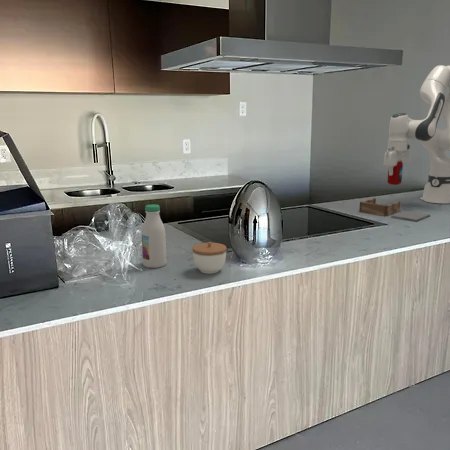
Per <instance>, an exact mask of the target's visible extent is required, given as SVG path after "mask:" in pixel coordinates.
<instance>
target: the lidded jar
mask: <svg viewBox="0 0 450 450" xmlns="http://www.w3.org/2000/svg"><path fill="white" fill-rule="evenodd" d="M191 250H192V258H193V262H194V265H195V267H196V268H197V269H198V270H199V271H200V272H201V273H203V274H205V275H207V274H209V275H210V274H217V273H218V272H220V270H222V268H223V267H224V266H225V263H226V260H227V259H226V258H227V246H226V245H225V244H224V243H223V244H222V243H219V242H211V241H207V242H201V243H197V244H195V245H193V246H192V249H191Z"/></svg>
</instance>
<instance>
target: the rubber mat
mask: <svg viewBox="0 0 450 450" xmlns="http://www.w3.org/2000/svg"><path fill="white" fill-rule="evenodd" d="M390 217H391V219H398V220H403V221H409V222H416V223H417V222H420V221H422V220H425V219H427V218H429V217H431V214H429V213H423V212H417V211H410V210H409V211H408V210H403V211H401V212H400V211H399V212H397V213H394V214H391V215H390Z"/></svg>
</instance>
